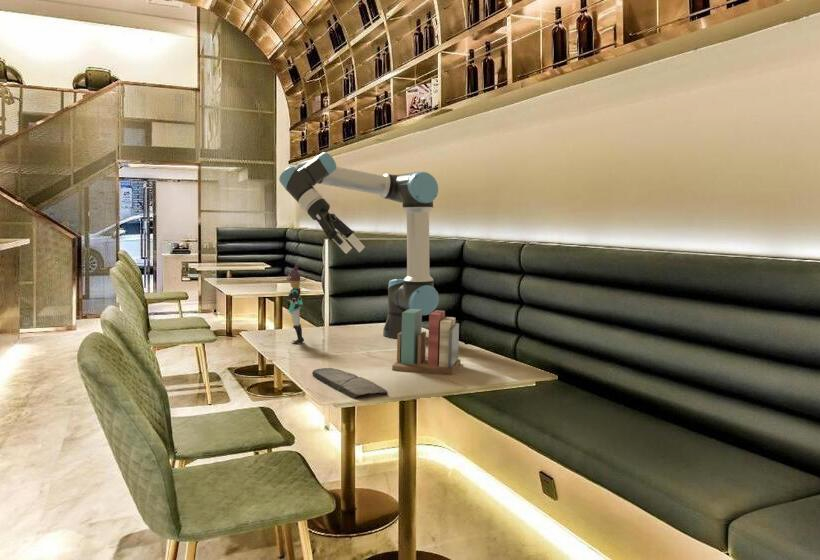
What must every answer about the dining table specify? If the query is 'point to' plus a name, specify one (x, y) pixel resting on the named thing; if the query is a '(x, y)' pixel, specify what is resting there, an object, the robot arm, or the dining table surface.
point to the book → (410, 335)
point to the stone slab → (347, 382)
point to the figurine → (295, 302)
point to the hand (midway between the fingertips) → (355, 250)
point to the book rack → (434, 347)
